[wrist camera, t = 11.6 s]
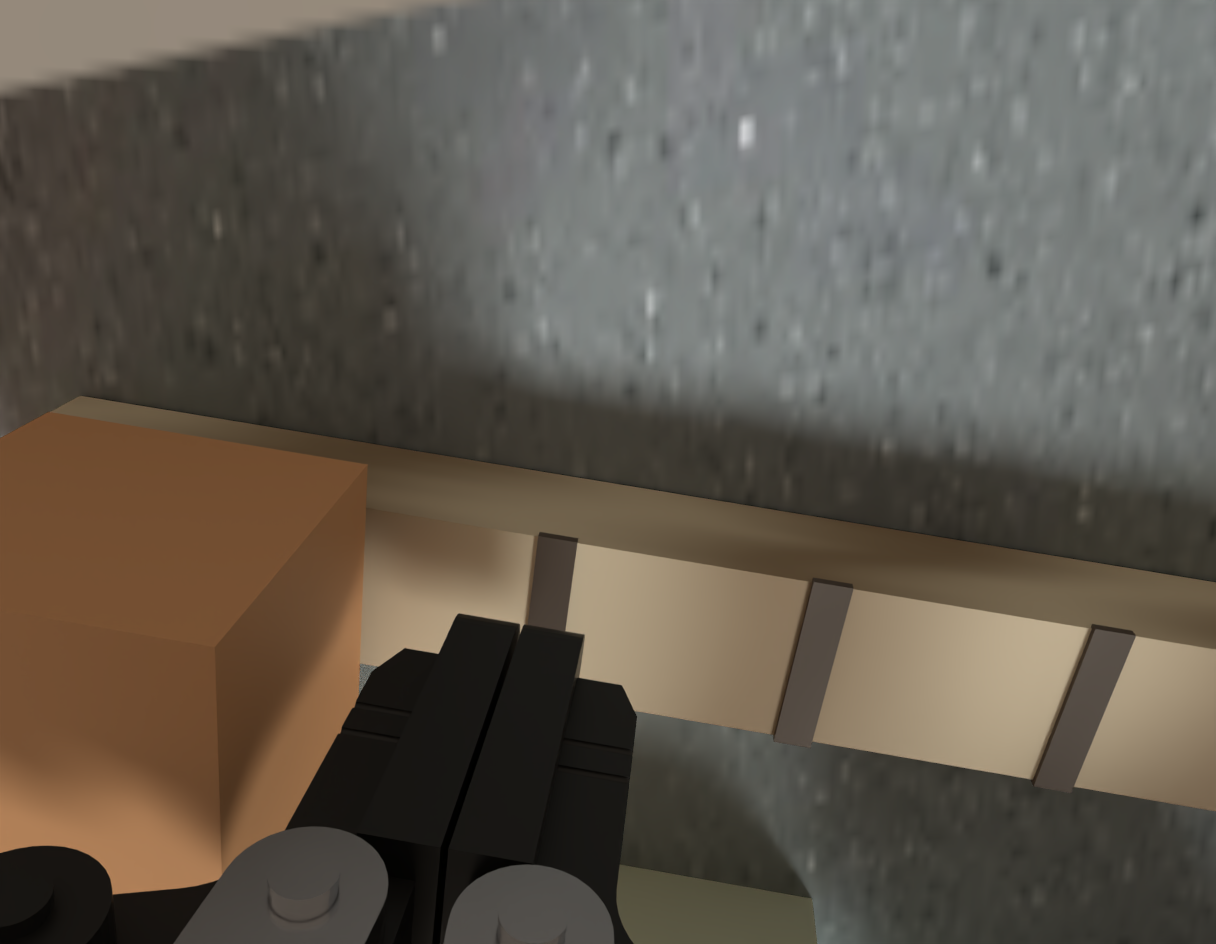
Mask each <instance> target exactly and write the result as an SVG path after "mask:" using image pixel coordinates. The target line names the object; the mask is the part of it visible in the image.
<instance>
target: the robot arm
mask: <svg viewBox="0 0 1216 944" xmlns="http://www.w3.org/2000/svg"><path fill="white" fill-rule="evenodd" d="M584 640H585V634H579V633H573V632H567V631H561V630H556V629H550V628H544V627H538V626H532V625H526V624H524V625H523V627H522V630H521V633H520V624H519V623H513V622H507V621H501V620H496V619H490V618H484V617H478V616H472V615H466V614H460V613H459V614H457V616H456V617H455V619H454V621H453V623H452V626H451V628H450V630H449V632H448V634H447V637H446V639H445V641H444V643H443V645H442V647H441V650H440V652H439V654H437V653H431V652H425V651H419V650H413V649H408V648H404V649H403V650H401V651H400V652H398V653H397V654H396V655H394V656H393V657H391V658H390V659H389V660H387V661H386V662H384V663H383V664H382V665H380V666H379V667H377V668H376V669H375V670H373V671H372V673H371V675H370V676H369V678H368V680H367V682H366V684H365V685H364V687H363V689H362V691H361V693H360V695H359V696H358V698H357V700H356V703H355V707H354V708H352V709H351V711H350V713H349V714H348V716H347V718H346V720H345V722H344V724H343V725H342V729H341V733H340V734H339V733H338V734H337V736H336V738H335V740H334V742H333V743H332V745H331V747H330V749H329V751H328V753H327V754H326V756H325V758H324V760H323V762H322V763H321V765H320V767H319V769H318V771H317V772H316V774H315V776H314V778H313V780H312V782H311V783H310V785H309V787H308V789H307V791H306V792H305V794H304V796H303V798H302V800H301V801H300V803H299V805H298V807H297V809H296V811H295V812H294V814H293V816H292V818H291V820H290V821H289V823H288V825H287V827H286V829H285V830H284V831H281V832H278V833H275V834H272V835H270V836H267V837H265V838H263V839H261V840H259V841H257V842H256V843H254V844H253V845H251V846H249V847H248V848H246V849H245V850H244V851H243V852H242V853H240V854H239V855H238V856H237V857H236V858H235V859H234V860H233V861H232V862H231V864H230V865H229V866H228V867H227V868H226V870H225V871H224V873H223V874H222V876H221V877H220V878H219V880H216V881H214V882H210V883H206V884H202V885H198V886H192V887H185V888H177V889H166V890H155V891H144V892H133V893H122V894H113V891H112V885H111V880H110V877H109V875H108V873H107V871H106V869H105V868H104V867H103V866H102V865H101V864H100V862H99V861H97V860H96V859H94V858H93V857H91V856H90V855H88V854H86V853H84V852H81V851H79V850H76V849H72V848H67V847H61V846H31V847H24V848H18V849H14V850H10V851H6V852H2V853H0V944H634V943H633V942H632V940H631V939H630V938H629V936H628V934H627V932H626V930H625V929H624V927H623V925H622V922H621V919H620V916H619V913H618V907H617V901H616V900H617V883H618V874H619V866H620V857H621V849H622V840H623V831H624V823H625V814H626V806H627V797H628V789H629V779H630V772H631V763H632V753H633V746H634V738H635V729H636V721H637V716H636V714H635V711H634V709H633V707H632V705H631V703H630V701H629V699H628V697H627V694H626V692H625V690H624V688H623V686H622V685H618V684H612V683H607V682H601V681H595V680H589V679H583V678H579V675H580V668H581V662H582V655H583V648H584Z"/></svg>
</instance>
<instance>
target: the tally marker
mask: <svg viewBox="0 0 1216 944" xmlns="http://www.w3.org/2000/svg"><path fill="white" fill-rule="evenodd" d="M367 470H368V464H361V463H355V462H349V461H343V460H337V459H331V458H325V457H319V456H313V455H307V454H301V453H295V452H289V451H283V450H277V449H271V448H265V447H259V446H253V445H246V444H240V443H234V442H228V441H222V440H216V439H210V438H204V437H198V436H192V435H186V434H180V433H174V432H168V431H162V430H156V429H150V428H144V427H137V426H131V425H125V424H119V423H113V422H107V421H101V420H95V419H89V418H83V417H77V416H71V415H65V414H59V413H53V412H47V413H46V414H44V415H42V416H40V417H38V418H36V419H35V420H33V421H31V422H29V423H27V424H25V425H24V426H22V427H20V428H18V429H16V430H14V431H12V432H11V433H9V434H7V435H5V436H3V437H1V438H0V853H2V852H6V851H10V850H14V849H18V848H24V847H31V846H61V847H67V848H72V849H76V850H79V851H81V852H84V853H86V854H88V855H90V856H91V857H93V858H94V859H96V860H97V861H99V862H100V864H101V865H102V866H103V867H104V868H105V869H106V871H107V873H108V875H109V877H110V880H111V885H112V891H113V894H122V893H133V892H144V891H155V890H166V889H177V888H185V887H192V886H198V885H202V884H206V883H210V882H214V881H216V880H219V878H220V877H221V876H222V874H223V873H224V871H225V870H226V868H227V867H228V866H229V865H230V864H231V862H232V861H233V860H234V859H235V858H236V857H237V856H238V855H239V854H240V853H242V852H243V851H244V850H245V849H246V848H248V847H249V846H251V845H253V844H254V843H256V842H257V841H259V840H261V839H263V838H265V837H267V836H270V835H272V834H275V833H278V832H281V831H284V830H285V829H286V827H287V825H288V823H289V821H290V820H291V818H292V816H293V814H294V812H295V811H296V809H297V807H298V805H299V803H300V801H301V800H302V798H303V796H304V794H305V792H306V791H307V789H308V787H309V785H310V783H311V782H312V780H313V778H314V776H315V774H316V772H317V771H318V769H319V767H320V765H321V763H322V762H323V760H324V758H325V756H326V754H327V753H328V751H329V749H330V747H331V745H332V743H333V742H334V740H335V738H336V736H337V734H338V733H339V734H340V733H341V729H342V725H343V724H344V722H345V720H346V718H347V716H348V714H349V713H350V711H351V709H352V708H354V707H355V703H356V700H357V698H358V696H359V672H360V647H361V622H362V597H363V571H364V546H365V521H366V496H367Z"/></svg>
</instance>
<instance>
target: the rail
mask: <svg viewBox="0 0 1216 944" xmlns="http://www.w3.org/2000/svg"><path fill="white" fill-rule="evenodd" d="M51 412H53V413H59V414H65V415H71V416H77V417H83V418H89V419H95V420H101V421H107V422H113V423H119V424H125V425H131V426H137V427H144V428H150V429H156V430H162V431H168V432H174V433H180V434H186V435H192V436H198V437H204V438H210V439H216V440H222V441H228V442H234V443H240V444H246V445H253V446H259V447H265V448H271V449H277V450H283V451H289V452H295V453H301V454H307V455H313V456H319V457H325V458H331V459H337V460H343V461H349V462H355V463H361V464H368V470H367V496H366V521H365V546H364V571H363V597H362V622H361V647H360V663H361V664H367V665H373V666H380V665H382V664H383V663H384V662H386V661H387V660H389V659H390V658H391V657H393V656H394V655H396V654H397V653H398V652H400V651H401V650H403V649H404V648H408V649H413V650H419V651H425V652H431V653H437V654H439V652H440V650H441V647H442V645H443V643H444V641H445V639H446V637H447V634H448V632H449V630H450V628H451V626H452V623H453V621H454V619H455V617H456V616H457V614H459V613H460V614H466V615H472V616H478V617H484V618H490V619H496V620H501V621H507V622H513V623H519V624H520V633H521V630H522V627H523V625H524V624H526V625H532V626H538V627H544V628H550V629H556V630H561V631H567V632H573V633H579V634H585V640H584V648H583V655H582V662H581V668H580V675H579V678H583V679H589V680H595V681H601V682H607V683H612V684H618V685H622V686H623V688H624V690H625V692H626V694H627V697H628V699H629V701H630V703H631V705H632V707H633V709H634V711H639V712H645V713H650V714H656V715H662V716H668V717H673V718H679V719H685V720H691V721H697V722H702V723H708V724H714V725H720V726H725V727H731V728H737V729H743V730H749V731H754V732H760V733H766V734H772V735H773V739H774V742H779V743H785V744H790V745H796V746H802V747H808V748H811V744H812V742H818V743H824V744H830V745H835V746H841V747H847V748H853V749H858V750H864V751H870V752H876V753H882V754H887V755H893V756H899V757H905V758H911V759H916V760H922V761H928V762H934V763H939V764H945V765H951V766H957V767H963V768H968V769H974V770H980V771H986V772H992V773H997V774H1003V775H1009V776H1015V777H1020V778H1026V779H1031V782H1032V784H1033V786H1034V787H1039V788H1044V789H1050V790H1056V791H1062V792H1067V793H1071V792H1072V790H1073V787H1078V788H1084V789H1090V790H1096V791H1101V792H1107V793H1113V794H1119V795H1125V796H1130V797H1136V798H1142V799H1148V800H1153V801H1159V802H1165V803H1171V804H1177V805H1182V806H1188V807H1194V808H1200V809H1205V810H1211V811H1216V582H1210V581H1204V580H1198V579H1192V578H1186V577H1180V576H1174V575H1168V574H1162V573H1155V572H1149V571H1143V570H1137V569H1131V568H1125V567H1119V566H1113V565H1107V564H1101V563H1095V562H1088V561H1082V560H1076V559H1070V558H1064V557H1058V556H1052V555H1046V554H1040V553H1034V552H1028V551H1022V550H1015V549H1009V548H1003V547H997V546H991V545H985V544H979V543H973V542H967V541H961V540H955V539H949V538H942V537H936V536H930V535H924V534H918V533H912V532H906V531H900V530H894V529H888V528H882V527H876V526H869V525H863V524H857V523H851V522H845V521H839V520H833V519H827V518H821V517H815V516H809V515H803V514H796V513H790V512H784V511H778V510H772V509H766V508H760V507H754V506H748V505H742V504H736V503H730V502H723V501H717V500H711V499H705V498H699V497H693V496H687V495H681V494H675V493H669V492H663V491H656V490H650V489H644V488H638V487H632V486H626V485H620V484H614V483H608V482H602V481H596V480H590V479H583V478H577V477H571V476H565V475H559V474H553V473H547V472H541V471H535V470H529V469H523V468H517V467H510V466H504V465H498V464H492V463H486V462H480V461H474V460H468V459H462V458H456V457H450V456H444V455H437V454H431V453H425V452H419V451H413V450H407V449H401V448H395V447H389V446H383V445H377V444H371V443H364V442H358V441H352V440H346V439H340V438H334V437H328V436H322V435H316V434H310V433H304V432H298V431H291V430H285V429H279V428H273V427H267V426H261V425H255V424H249V423H243V422H237V421H231V420H224V419H218V418H212V417H206V416H200V415H194V414H188V413H182V412H176V411H170V410H164V409H158V408H151V407H145V406H139V405H133V404H127V403H121V402H115V401H109V400H103V399H97V398H91V397H85V396H79V397H77V398H75V399H73V400H71V401H70V402H68V403H66V404H64V405H62V406H60V407H59V408H57V409H55V410H53V411H51Z"/></svg>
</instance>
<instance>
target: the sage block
mask: <svg viewBox="0 0 1216 944" xmlns="http://www.w3.org/2000/svg"><path fill="white" fill-rule="evenodd" d="M616 901H617V907H618V913H619V916H620V919H621V922H622V925H623V927H624V929H625V930H626V932H627V934H628V936H629V938H630V939H631V940H632V942H633V943H634V944H817V937H816V928H815V919H814V911H813V902H812V899H811V898H806V897H800V896H794V895H789V894H783V893H777V892H772V891H766V890H761V889H755V888H749V887H744V886H738V885H732V884H727V883H721V882H716V881H710V880H704V879H699V878H693V877H687V876H682V875H676V874H671V873H665V872H659V871H654V870H648V869H642V868H637V867H631V866H626V865H620V866H619V874H618V883H617V900H616Z"/></svg>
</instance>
